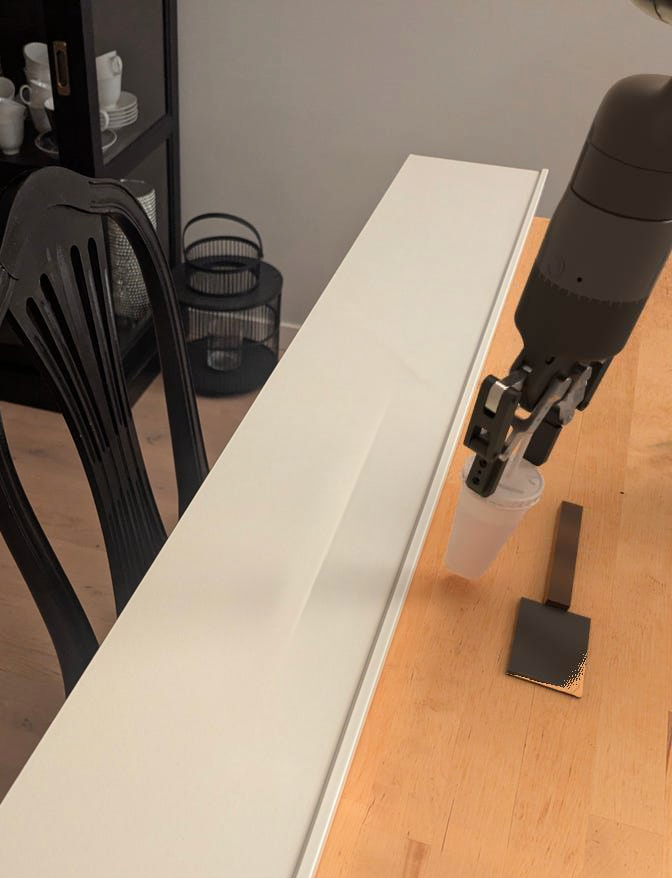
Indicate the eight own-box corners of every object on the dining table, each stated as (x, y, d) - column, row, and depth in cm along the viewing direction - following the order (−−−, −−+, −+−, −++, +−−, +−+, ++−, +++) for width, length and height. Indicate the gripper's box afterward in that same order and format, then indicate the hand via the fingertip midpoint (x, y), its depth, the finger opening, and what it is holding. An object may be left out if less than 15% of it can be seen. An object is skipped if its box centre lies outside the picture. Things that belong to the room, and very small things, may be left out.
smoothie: (456, 598, 75) (516, 461, 65) (414, 547, 79) (464, 410, 68) (518, 580, 77) (586, 445, 67) (474, 531, 81) (531, 396, 70)
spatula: (537, 503, 89) (541, 493, 88) (599, 521, 87) (604, 512, 87) (505, 674, 73) (510, 664, 72) (580, 698, 72) (586, 689, 71)
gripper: (582, 324, 53) (487, 537, 66) (704, 265, 60) (596, 468, 73) (481, 270, 57) (408, 482, 69) (606, 219, 64) (520, 420, 76)
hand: (505, 474), depth 71 cm, fingers closed on smoothie, 6 cm apart
